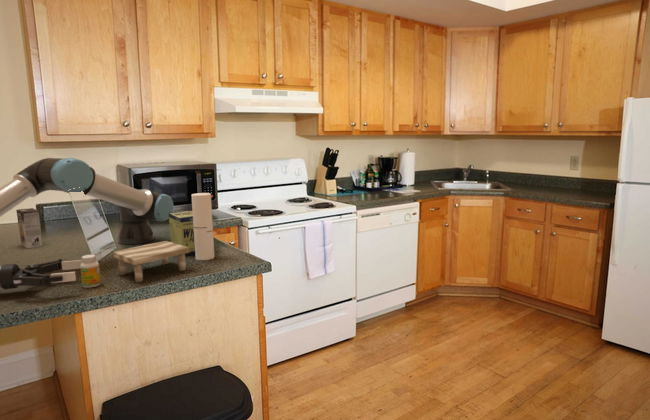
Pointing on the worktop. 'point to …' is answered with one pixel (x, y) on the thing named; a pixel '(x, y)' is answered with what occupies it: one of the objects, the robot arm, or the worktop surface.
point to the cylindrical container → (203, 226)
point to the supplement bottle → (90, 271)
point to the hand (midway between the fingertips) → (80, 269)
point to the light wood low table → (150, 256)
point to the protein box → (182, 230)
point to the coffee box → (29, 227)
